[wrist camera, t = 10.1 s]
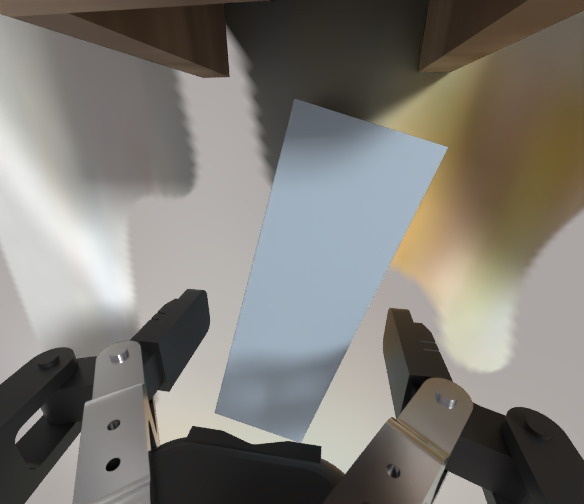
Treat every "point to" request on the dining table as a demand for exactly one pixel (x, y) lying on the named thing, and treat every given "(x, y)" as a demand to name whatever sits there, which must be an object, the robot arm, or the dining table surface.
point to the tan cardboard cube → (210, 3)
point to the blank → (319, 261)
